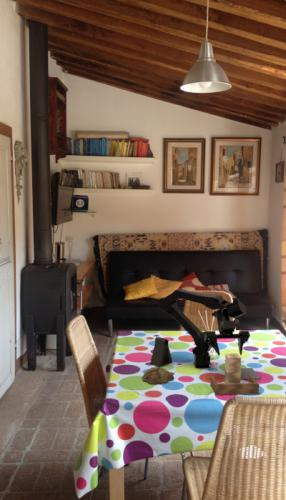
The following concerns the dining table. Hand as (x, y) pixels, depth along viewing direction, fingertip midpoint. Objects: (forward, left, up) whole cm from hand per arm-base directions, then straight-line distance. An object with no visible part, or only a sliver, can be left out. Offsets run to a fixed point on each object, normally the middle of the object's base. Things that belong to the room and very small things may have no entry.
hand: (230, 355), depth 183 cm
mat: (+8, +8, -11) cm, 16 cm away
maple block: (0, -5, -11) cm, 13 cm away
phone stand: (-26, +23, -12) cm, 37 cm away
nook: (0, -8, -11) cm, 14 cm away
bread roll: (-30, +5, -12) cm, 33 cm away
